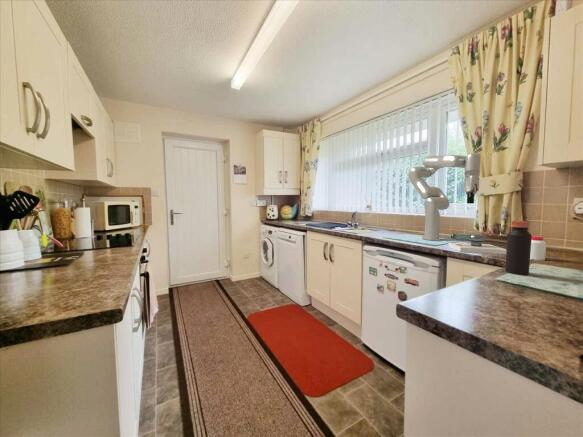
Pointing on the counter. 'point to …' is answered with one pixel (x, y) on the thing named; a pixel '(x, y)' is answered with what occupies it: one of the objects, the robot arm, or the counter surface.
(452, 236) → the grey elongated shape
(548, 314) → the counter surface
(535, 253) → the pill bottle
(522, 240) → the vinegar
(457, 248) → the plate
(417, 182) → the robot arm
